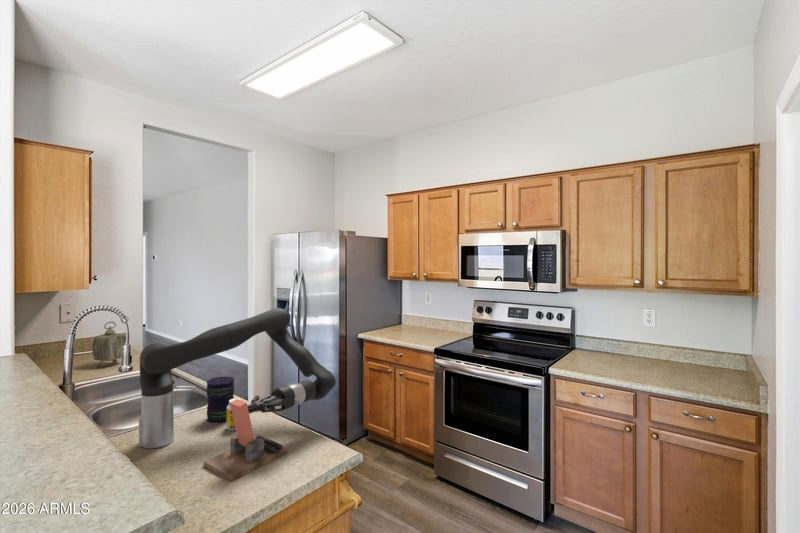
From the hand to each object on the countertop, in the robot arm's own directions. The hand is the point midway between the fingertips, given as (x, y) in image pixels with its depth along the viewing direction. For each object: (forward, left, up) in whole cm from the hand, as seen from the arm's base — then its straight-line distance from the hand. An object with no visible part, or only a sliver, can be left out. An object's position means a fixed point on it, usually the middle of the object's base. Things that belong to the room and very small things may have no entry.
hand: (244, 410), depth 123 cm
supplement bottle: (-10, +25, -16) cm, 31 cm away
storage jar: (-18, +34, -16) cm, 41 cm away
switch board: (+1, +1, -15) cm, 16 cm away
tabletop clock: (-106, +116, -16) cm, 158 cm away
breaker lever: (+1, +1, -10) cm, 11 cm away
